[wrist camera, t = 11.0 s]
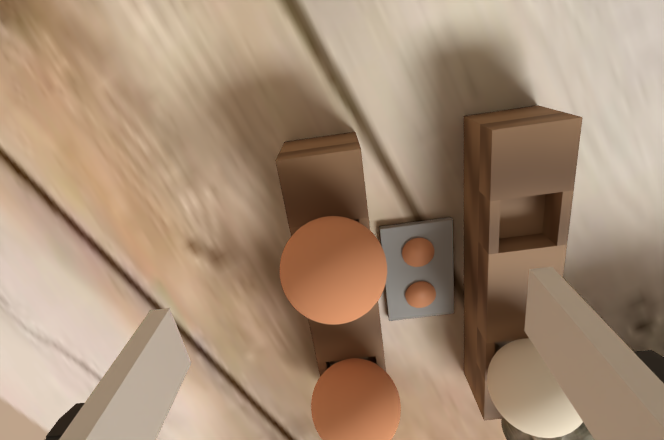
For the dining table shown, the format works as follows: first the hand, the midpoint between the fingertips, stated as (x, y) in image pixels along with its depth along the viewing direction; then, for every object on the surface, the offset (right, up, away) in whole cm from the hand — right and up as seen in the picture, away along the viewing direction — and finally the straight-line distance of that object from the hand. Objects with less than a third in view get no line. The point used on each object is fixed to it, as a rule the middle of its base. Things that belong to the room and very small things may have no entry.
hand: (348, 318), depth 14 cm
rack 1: (0, 0, +11) cm, 11 cm away
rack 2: (+10, +1, +11) cm, 15 cm away
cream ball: (+11, -5, +7) cm, 14 cm away
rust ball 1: (-1, +1, +4) cm, 4 cm away
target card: (+5, 0, +11) cm, 12 cm away
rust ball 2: (+1, -7, +7) cm, 10 cm away
